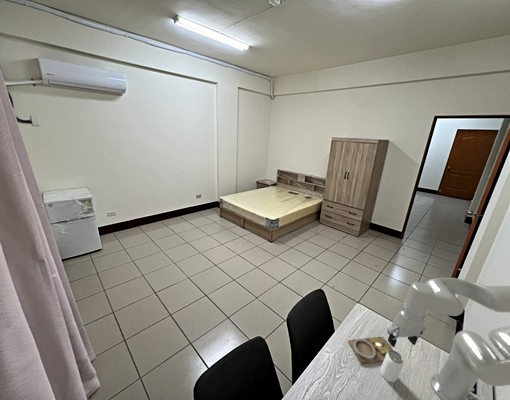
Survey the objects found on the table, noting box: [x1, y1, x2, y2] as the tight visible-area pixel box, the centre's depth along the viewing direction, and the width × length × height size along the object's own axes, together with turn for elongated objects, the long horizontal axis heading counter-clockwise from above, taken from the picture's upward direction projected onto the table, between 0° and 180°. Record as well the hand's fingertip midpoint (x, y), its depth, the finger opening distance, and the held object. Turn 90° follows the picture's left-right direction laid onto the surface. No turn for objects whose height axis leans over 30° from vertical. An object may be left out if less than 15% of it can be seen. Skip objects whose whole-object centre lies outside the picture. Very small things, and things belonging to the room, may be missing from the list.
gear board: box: [348, 336, 395, 365], centre depth 107 cm, size 20×11×2 cm, turn 99°
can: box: [379, 349, 404, 383], centre depth 95 cm, size 6×6×12 cm
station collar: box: [353, 338, 376, 360], centre depth 106 cm, size 10×10×1 cm
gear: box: [372, 336, 393, 355], centre depth 107 cm, size 9×9×4 cm
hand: (401, 342), depth 90 cm, fingers open, 9 cm apart
